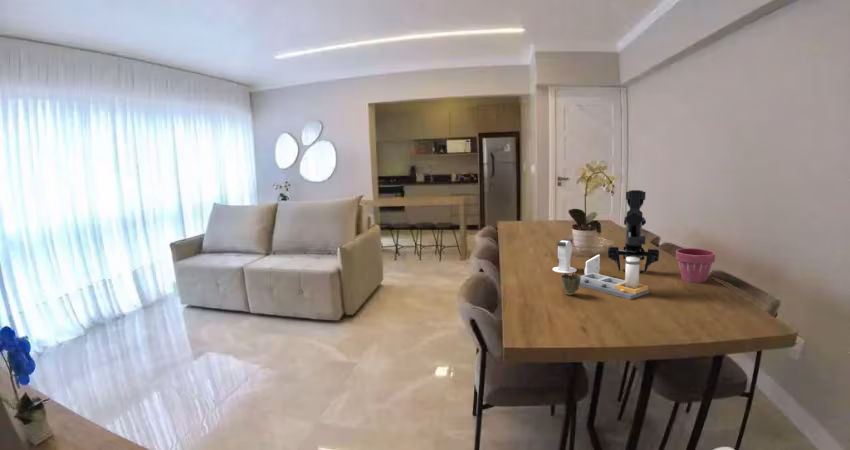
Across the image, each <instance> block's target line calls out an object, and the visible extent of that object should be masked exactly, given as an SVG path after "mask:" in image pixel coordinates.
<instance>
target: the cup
mask: <svg viewBox="0 0 850 450" xmlns="http://www.w3.org/2000/svg"><path fill="white" fill-rule="evenodd" d="M581 276H582V275H578V274H577V273H571V274H570V275H569V273H563V274H561V276H560V277H561V285H562V288H563V290H565V293H566V295H568V296H575V295H576V292H577V291H578V290H579V289H580V288H579V287H580V286H579V285H580V278H581Z"/></svg>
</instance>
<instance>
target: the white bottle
mask: <svg viewBox="0 0 850 450" xmlns="http://www.w3.org/2000/svg"><path fill="white" fill-rule="evenodd" d="M640 263H641V260H640V258H638V257H626V259H625V267H624V269H625V271H624V273H625V274H624V280H625V287H628V288H631V289H637V288H638V287H639V284H640V272H639V269H640V268H639V266H641V264H640Z"/></svg>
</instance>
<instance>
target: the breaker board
mask: <svg viewBox="0 0 850 450" xmlns="http://www.w3.org/2000/svg"><path fill="white" fill-rule="evenodd" d="M580 276H581V278H580V285H579V287H583V288H587V289H591V290H594V291H597V292H601V293H605V294H608V295H613V296H616V297H620V298H622V299H627V300H630V301H631V300H633V299H636V298H638V297H642V296H644V295H647V294H650V289H649V286H648V285H645V284H641V283H639V287H638V288H637V289H631V288H628V287H625V279H620V278H616V277H611V276H608V275H603V274H600V273H599V274H596V273H590V274H586V275H585V274H583V275H580Z"/></svg>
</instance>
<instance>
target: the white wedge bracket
mask: <svg viewBox="0 0 850 450" xmlns="http://www.w3.org/2000/svg"><path fill="white" fill-rule="evenodd" d="M600 260H601V255H600V254H596V255H595V256H593V257H592V258H590V259H588V260H586V261H585V267H584V270H583V271H584V273H583V275H586V274H590V273H596V274H600V265H601V263H600V262H601V261H600Z"/></svg>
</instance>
